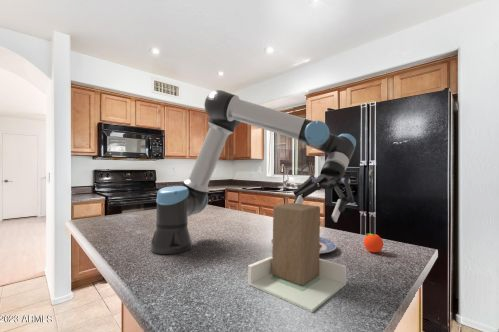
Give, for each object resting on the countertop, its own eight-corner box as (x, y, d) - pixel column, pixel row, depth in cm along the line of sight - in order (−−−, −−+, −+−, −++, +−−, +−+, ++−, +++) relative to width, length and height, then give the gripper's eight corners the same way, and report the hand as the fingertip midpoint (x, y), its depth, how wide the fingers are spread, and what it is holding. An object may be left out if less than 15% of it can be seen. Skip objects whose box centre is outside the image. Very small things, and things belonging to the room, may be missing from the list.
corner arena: (247, 284, 68) (248, 265, 68) (287, 265, 82) (287, 249, 82) (312, 312, 55) (312, 289, 55) (346, 284, 69) (346, 265, 69)
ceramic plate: (342, 261, 86) (342, 253, 86) (267, 255, 91) (267, 247, 91) (331, 241, 112) (331, 234, 112) (273, 237, 116) (274, 230, 117)
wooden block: (290, 266, 79) (291, 202, 80) (319, 275, 73) (320, 206, 73) (271, 275, 72) (272, 205, 72) (302, 286, 65) (303, 209, 65)
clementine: (358, 251, 98) (358, 233, 98) (364, 247, 103) (364, 230, 103) (380, 256, 92) (380, 237, 92) (385, 252, 97) (385, 233, 97)
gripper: (374, 176, 81) (357, 230, 70) (306, 174, 98) (283, 217, 87) (369, 159, 78) (350, 213, 66) (299, 160, 95) (274, 203, 83)
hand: (312, 216), depth 77 cm, fingers open, 13 cm apart
